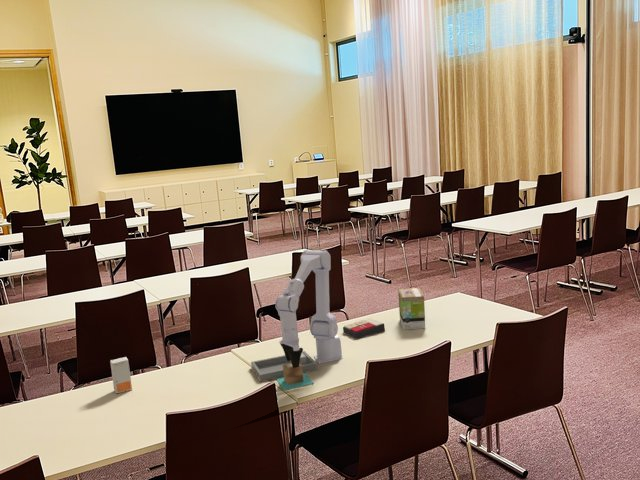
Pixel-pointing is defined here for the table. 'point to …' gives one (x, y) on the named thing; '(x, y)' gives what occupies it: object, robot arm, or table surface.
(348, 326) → the black and red box
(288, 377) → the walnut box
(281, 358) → the parts bin
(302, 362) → the grey box
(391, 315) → the table surface
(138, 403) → the table surface
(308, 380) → the mat
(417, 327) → the tea box
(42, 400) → the table surface
